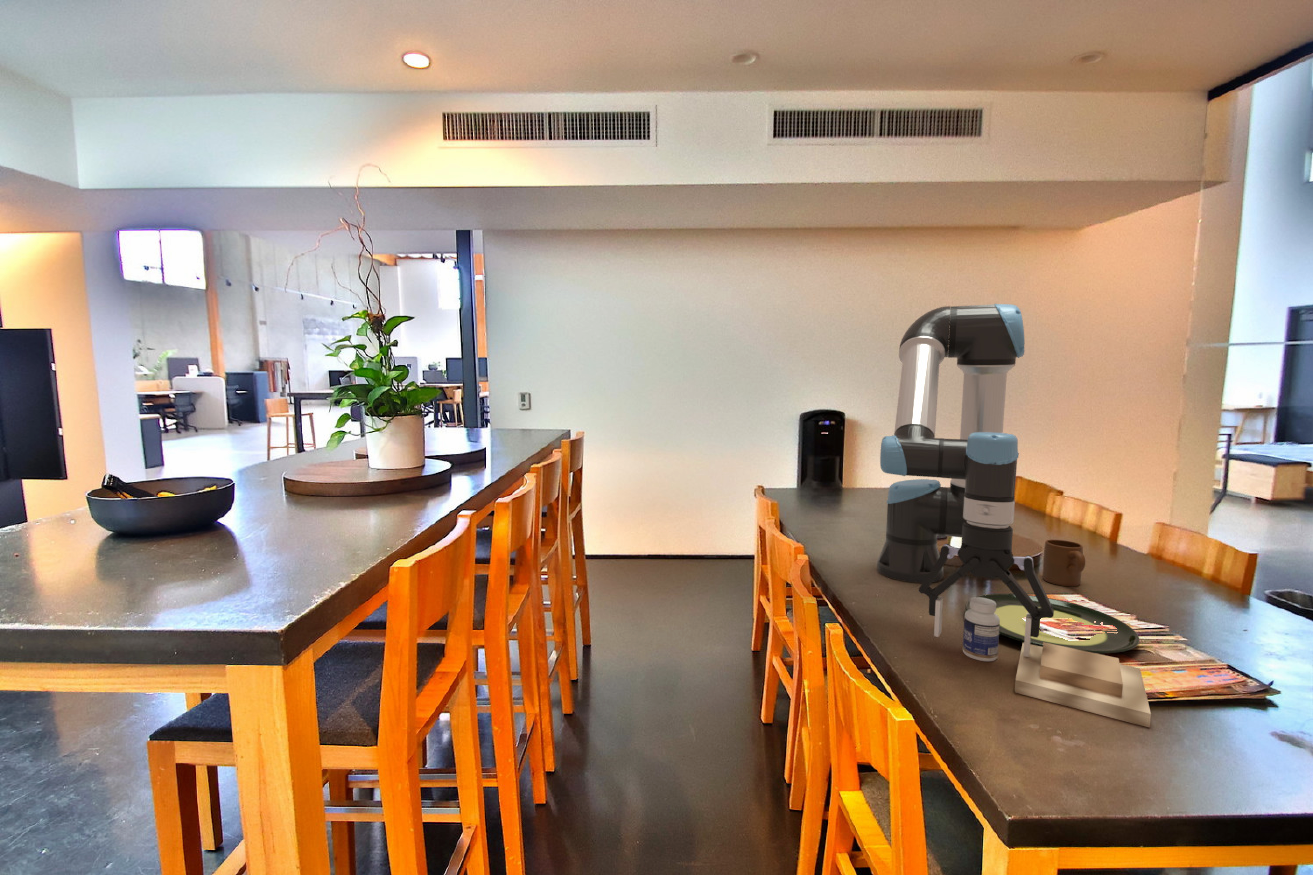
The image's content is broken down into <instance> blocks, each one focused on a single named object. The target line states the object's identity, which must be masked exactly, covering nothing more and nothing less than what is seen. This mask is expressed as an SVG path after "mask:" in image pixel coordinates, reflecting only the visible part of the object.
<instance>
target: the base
mask: <svg viewBox="0 0 1313 875" xmlns="http://www.w3.org/2000/svg"><path fill="white" fill-rule="evenodd" d="M1023 655H1024V642H1022V646H1021V650H1020V655H1019V659H1018V660H1019V661H1018V665H1017V671H1016V675H1015V680H1014V681H1015V682H1014V693H1016V694H1019V695H1024V696H1027V697H1031V698H1035V699H1039V700H1043V701H1046V702H1051V703H1054V704H1059V705H1062V706H1065V707H1069V708H1074V709H1077V710H1081V711H1085V712H1089V713H1092V714H1096V715H1100V716H1104V717H1108V718H1111V719H1115V720H1120V721H1123V722H1127V723H1130V724H1134V725H1138V726H1142V727H1146V728H1149V729H1150V727H1151V717H1152V713H1151V709H1150V705H1149V699H1148V695H1147V691H1146V688H1145V684H1144V678H1143V675H1142V671H1141V670H1142V669H1141V668H1140V667H1135V666H1130V665H1128V664H1123V663H1120V658H1119V657H1114V656H1109V655H1105V654H1096V653H1091V652H1087V651H1082V650H1077V649H1073V648H1068V647H1064V646H1059V645H1054V644H1050V643H1045V642H1043V647H1040V646H1036V645H1031V644H1030V653H1029V657H1025V656H1023Z"/></svg>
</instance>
